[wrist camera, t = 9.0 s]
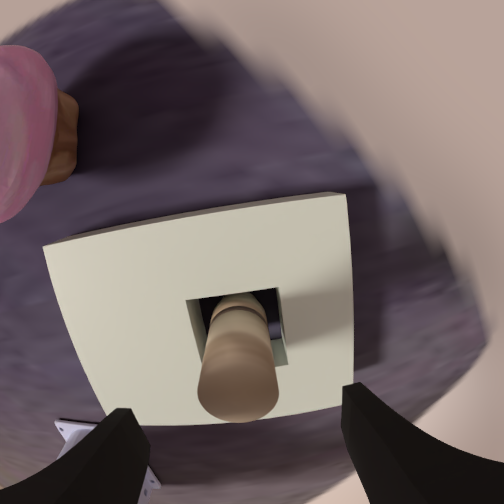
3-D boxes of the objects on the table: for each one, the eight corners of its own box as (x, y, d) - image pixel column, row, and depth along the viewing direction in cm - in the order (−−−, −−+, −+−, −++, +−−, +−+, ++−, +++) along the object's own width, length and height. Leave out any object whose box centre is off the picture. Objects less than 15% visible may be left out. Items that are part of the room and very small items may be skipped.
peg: (267, 326, 18) (283, 417, 11) (219, 334, 18) (208, 425, 11) (260, 281, 18) (273, 356, 10) (209, 289, 18) (187, 368, 10)
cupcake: (111, 203, 16) (-8, 235, 7) (11, 216, 16) (-96, 248, 7) (112, 62, 14) (17, -10, 5) (12, 96, 14) (-88, 75, 4)
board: (339, 375, 20) (352, 402, 17) (123, 398, 20) (111, 423, 17) (328, 191, 17) (345, 194, 14) (68, 236, 17) (42, 246, 14)
